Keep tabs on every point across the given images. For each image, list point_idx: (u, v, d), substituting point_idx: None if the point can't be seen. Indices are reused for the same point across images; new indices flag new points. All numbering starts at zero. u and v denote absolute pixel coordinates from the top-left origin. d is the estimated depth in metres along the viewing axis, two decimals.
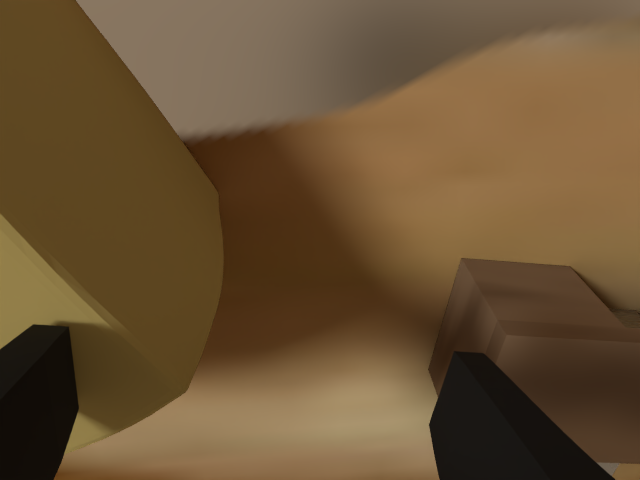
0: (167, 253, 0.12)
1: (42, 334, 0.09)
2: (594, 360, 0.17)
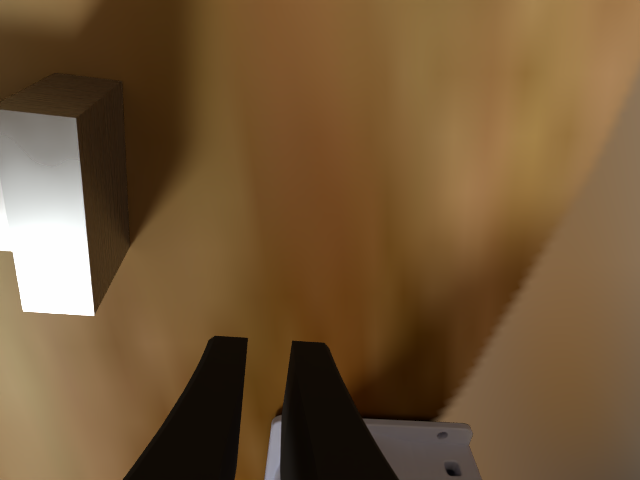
0: None
1: (230, 345, 0.09)
2: None
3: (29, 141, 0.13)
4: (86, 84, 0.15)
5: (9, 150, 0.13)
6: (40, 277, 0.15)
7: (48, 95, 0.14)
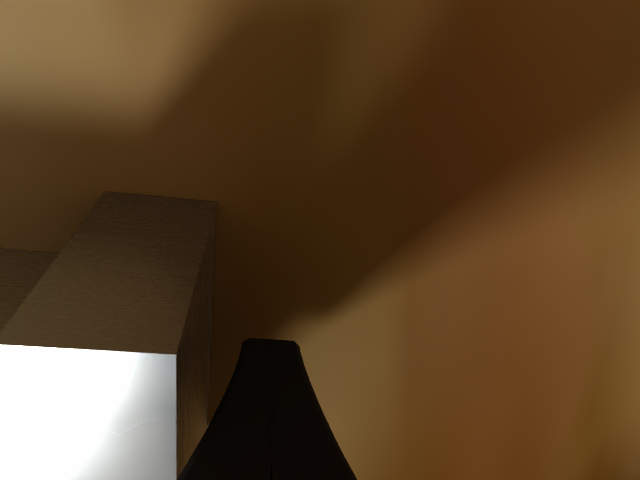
0: None
1: (266, 348, 0.09)
2: None
3: (77, 395, 0.06)
4: (163, 221, 0.09)
5: (35, 411, 0.06)
6: None
7: (106, 270, 0.07)
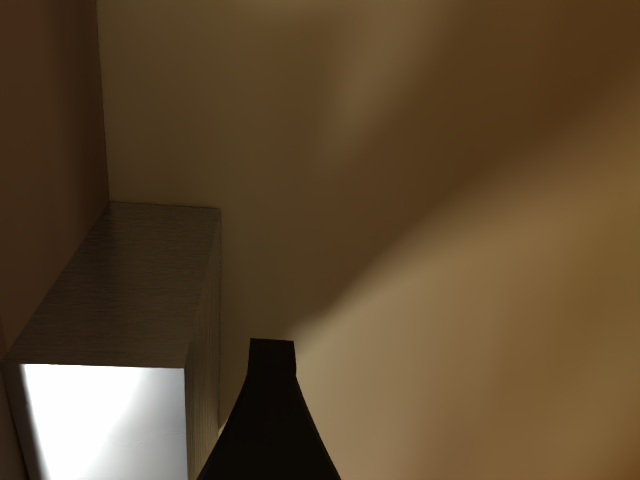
0: None
1: (278, 349, 0.09)
2: None
3: (86, 411, 0.06)
4: (167, 231, 0.09)
5: (45, 428, 0.06)
6: None
7: (111, 283, 0.07)
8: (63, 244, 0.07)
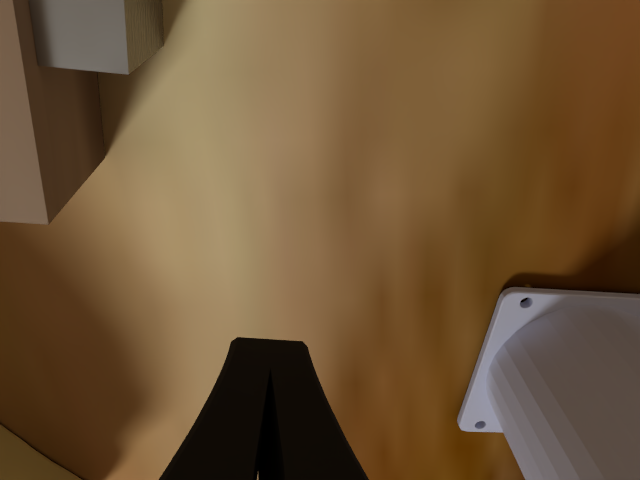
0: None
1: (254, 348, 0.09)
2: None
3: None
4: None
5: None
6: (59, 10, 0.11)
7: None
8: None
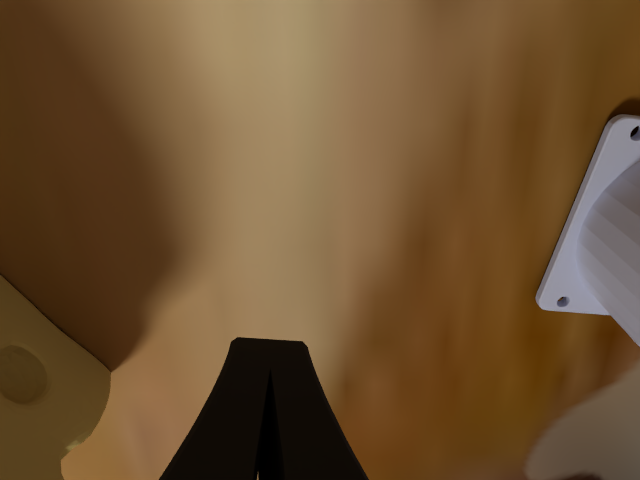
0: None
1: (254, 348, 0.09)
2: None
3: None
4: None
5: None
6: None
7: None
8: None
